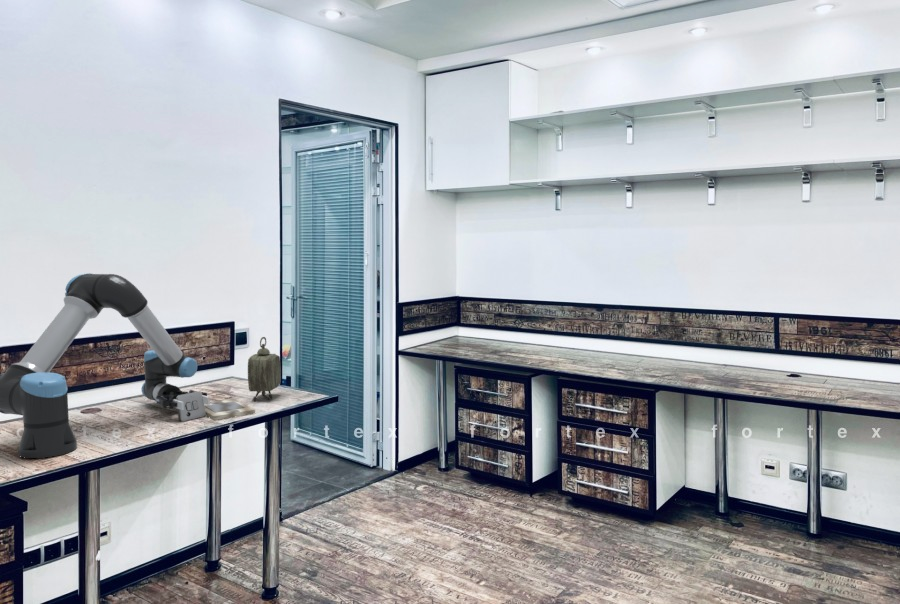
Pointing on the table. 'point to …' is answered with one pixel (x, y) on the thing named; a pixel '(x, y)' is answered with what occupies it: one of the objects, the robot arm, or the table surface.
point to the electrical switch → (191, 406)
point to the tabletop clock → (263, 371)
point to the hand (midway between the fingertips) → (195, 403)
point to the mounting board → (227, 409)
